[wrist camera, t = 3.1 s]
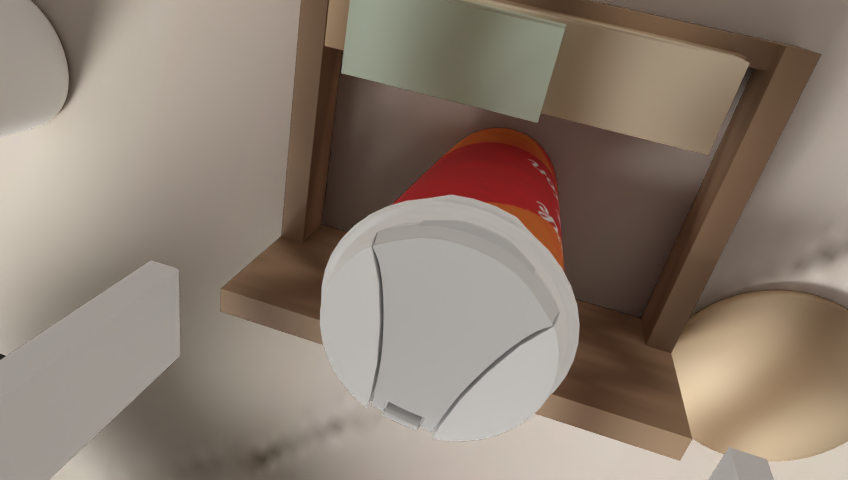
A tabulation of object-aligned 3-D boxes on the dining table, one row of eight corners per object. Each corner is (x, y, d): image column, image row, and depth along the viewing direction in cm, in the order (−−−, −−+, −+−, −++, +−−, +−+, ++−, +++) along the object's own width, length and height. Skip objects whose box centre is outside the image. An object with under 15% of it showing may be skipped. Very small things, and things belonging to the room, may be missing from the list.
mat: (630, 417, 31) (631, 424, 31) (705, 264, 27) (708, 270, 26) (818, 476, 30) (822, 485, 30) (930, 327, 26) (938, 334, 25)
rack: (299, 237, 32) (219, 311, 25) (329, -58, 25) (230, -71, 18) (655, 344, 29) (679, 460, 22) (798, 47, 22) (898, 79, 15)
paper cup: (538, 276, 29) (508, 493, 17) (402, 217, 30) (278, 387, 17) (610, 140, 26) (639, 291, 13) (454, 75, 26) (343, 164, 14)
